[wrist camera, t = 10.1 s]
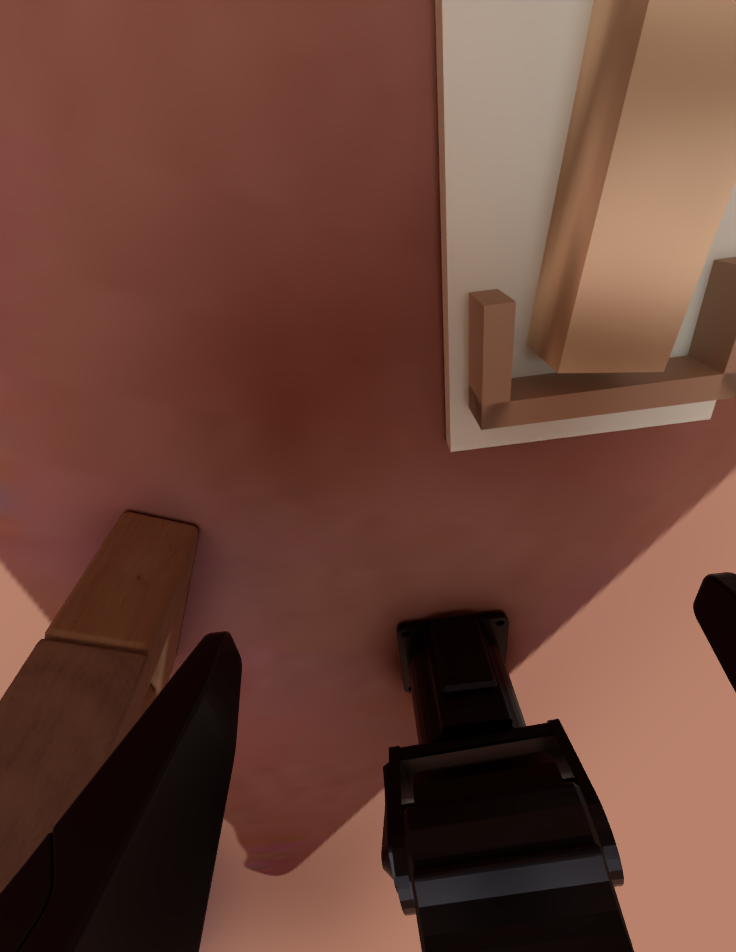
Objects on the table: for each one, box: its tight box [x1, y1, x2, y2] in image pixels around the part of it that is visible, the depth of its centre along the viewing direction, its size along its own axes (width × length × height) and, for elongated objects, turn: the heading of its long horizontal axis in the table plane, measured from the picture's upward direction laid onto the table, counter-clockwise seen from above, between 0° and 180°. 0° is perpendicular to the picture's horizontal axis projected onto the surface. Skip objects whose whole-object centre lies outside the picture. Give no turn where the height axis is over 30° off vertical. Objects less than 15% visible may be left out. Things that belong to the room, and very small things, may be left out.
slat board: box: [435, 0, 736, 452], centre depth 13 cm, size 22×11×3 cm, turn 7°
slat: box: [526, 0, 736, 373], centre depth 12 cm, size 14×4×3 cm, turn 0°
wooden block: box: [0, 512, 199, 892], centre depth 17 cm, size 4×11×18 cm, turn 161°
